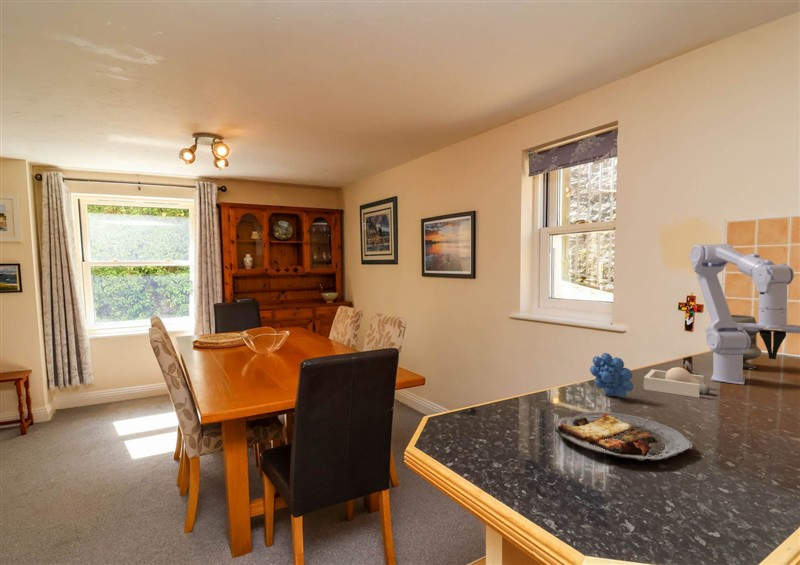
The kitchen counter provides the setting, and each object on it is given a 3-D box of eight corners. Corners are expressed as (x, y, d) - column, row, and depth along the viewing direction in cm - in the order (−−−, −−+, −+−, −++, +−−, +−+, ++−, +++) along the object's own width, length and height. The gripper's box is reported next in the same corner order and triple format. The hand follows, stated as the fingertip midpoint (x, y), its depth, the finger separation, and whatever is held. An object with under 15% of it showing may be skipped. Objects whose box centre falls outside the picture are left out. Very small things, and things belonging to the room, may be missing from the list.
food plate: (633, 479, 69) (634, 458, 69) (531, 433, 90) (531, 417, 90) (712, 451, 81) (712, 433, 81) (605, 416, 102) (605, 402, 102)
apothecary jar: (730, 370, 141) (730, 317, 140) (710, 362, 153) (710, 314, 152) (770, 370, 139) (770, 317, 138) (746, 362, 151) (746, 314, 150)
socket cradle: (651, 380, 130) (651, 369, 130) (703, 387, 121) (703, 375, 121) (643, 389, 121) (643, 377, 121) (699, 397, 112) (699, 385, 112)
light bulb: (716, 377, 115) (673, 360, 123) (707, 385, 111) (664, 367, 120) (710, 396, 118) (668, 378, 126) (701, 405, 114) (659, 386, 122)
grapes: (583, 394, 116) (582, 352, 116) (594, 390, 121) (594, 349, 120) (626, 404, 107) (626, 359, 107) (637, 399, 112) (637, 355, 111)
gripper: (737, 308, 113) (737, 357, 113) (811, 311, 104) (811, 364, 104) (738, 306, 118) (738, 353, 119) (809, 309, 109) (808, 359, 109)
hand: (772, 358), depth 112 cm, fingers closed
